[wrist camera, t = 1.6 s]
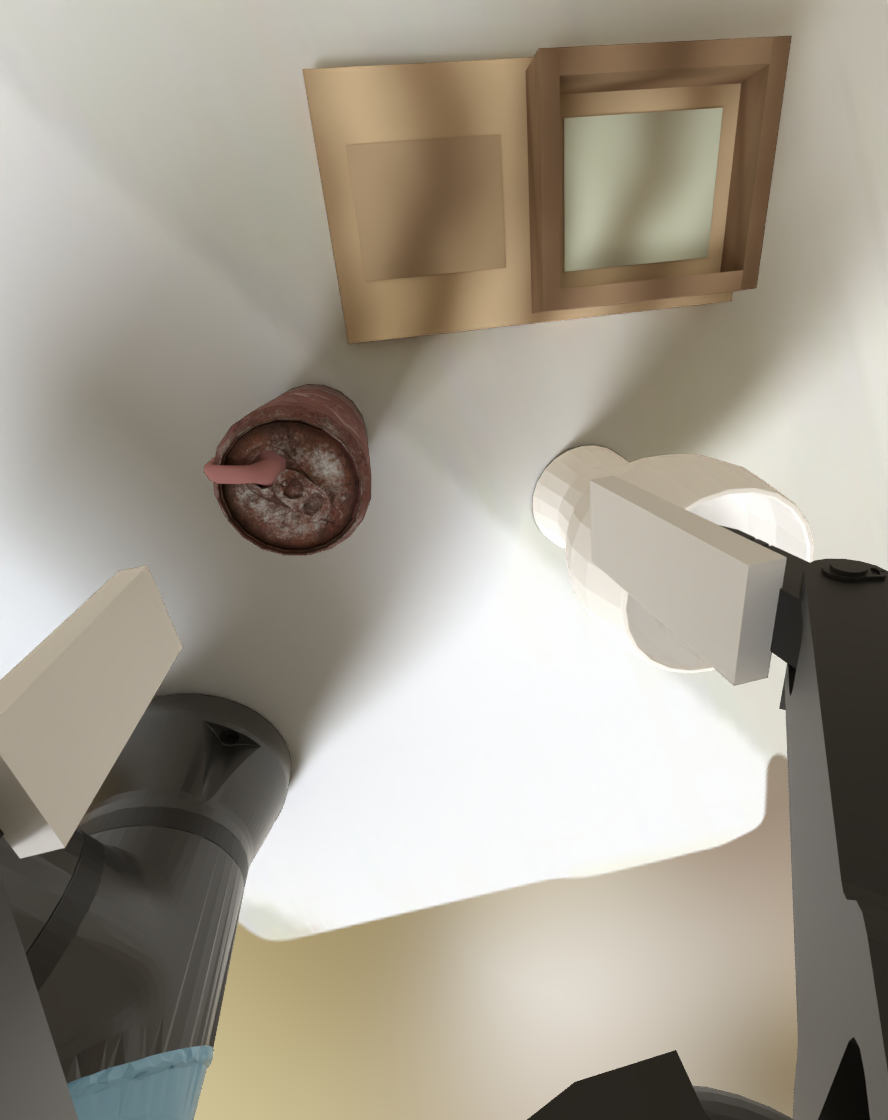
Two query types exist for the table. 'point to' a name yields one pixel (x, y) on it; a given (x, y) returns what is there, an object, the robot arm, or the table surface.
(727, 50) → the holder board
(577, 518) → the cup
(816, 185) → the table surface
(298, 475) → the can
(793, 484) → the table surface
